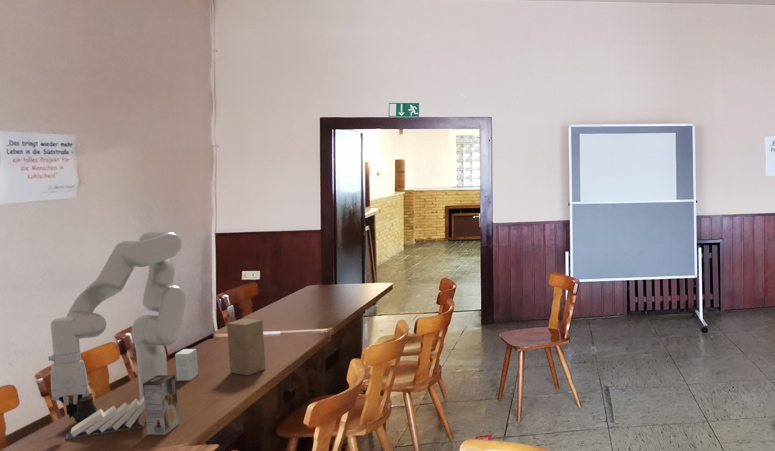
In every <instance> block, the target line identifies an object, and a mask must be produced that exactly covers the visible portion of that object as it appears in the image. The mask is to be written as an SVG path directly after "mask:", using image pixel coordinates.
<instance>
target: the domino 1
mask: <svg viewBox="0 0 775 451" xmlns="http://www.w3.org/2000/svg"><path fill="white" fill-rule="evenodd" d="M104 412H105V411H104V410H103V409H102V408H100V409H97V412H95V413H94V414H92V415H91V416H89V417H87V418H86V419H84V420H83V421H81V422H80V423H76V424H75V425H74V426H73V427H71V430H70V432H71V434H72V435H73V437H75V436H76V435H78V434H79V433H81V432H82V431H84V430H85V429H87V428H88V427H90V426H91V425H93V424H94V423H96V422H97V421H99V420H100V419H102V418H103V416H104Z"/></svg>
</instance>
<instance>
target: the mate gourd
mask: <svg viewBox="0 0 775 451" xmlns="http://www.w3.org/2000/svg"><path fill="white" fill-rule="evenodd" d="M73 396H74V395H72V396H71V397H72V398H73ZM77 410H78V413H76V415H75V417H73V419H74V421H75V423H76V424H78V423H80V422H81V421H83V420H84V419H86V418H87V417H89V416H91V415H92V414H94V413H95V412H97V411H98V408H97V406H96V405H95V403H94V396H92V395H87V396H85V397H82V398H81V399H80V400H79V401H78V402H77Z"/></svg>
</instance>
